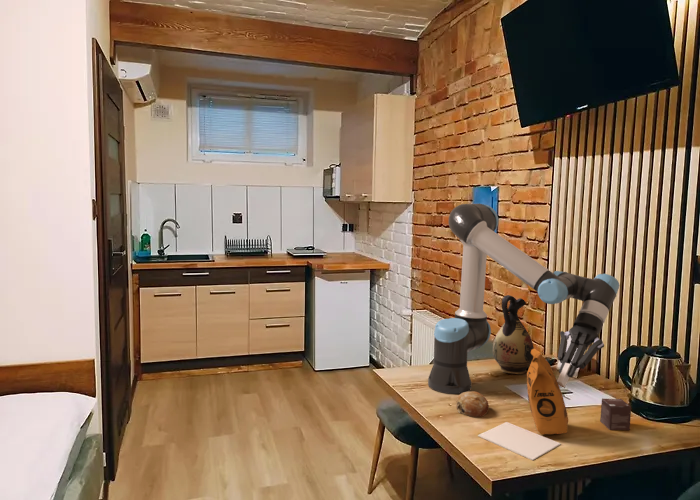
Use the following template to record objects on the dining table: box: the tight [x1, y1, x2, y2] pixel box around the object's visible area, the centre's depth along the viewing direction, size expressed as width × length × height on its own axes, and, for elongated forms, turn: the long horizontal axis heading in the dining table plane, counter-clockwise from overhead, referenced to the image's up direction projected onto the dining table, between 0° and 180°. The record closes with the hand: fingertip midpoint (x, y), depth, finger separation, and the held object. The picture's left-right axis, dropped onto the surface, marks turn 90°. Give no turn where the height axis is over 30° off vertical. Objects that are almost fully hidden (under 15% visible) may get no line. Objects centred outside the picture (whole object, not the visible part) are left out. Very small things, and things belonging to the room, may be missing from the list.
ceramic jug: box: [492, 295, 535, 375], centre depth 198 cm, size 17×15×30 cm
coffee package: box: [526, 347, 569, 436], centre depth 148 cm, size 10×12×22 cm
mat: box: [477, 421, 561, 461], centre depth 142 cm, size 17×14×1 cm
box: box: [599, 398, 632, 431], centre depth 152 cm, size 6×6×7 cm
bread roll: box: [455, 390, 490, 418], centre depth 161 cm, size 10×10×8 cm
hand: (560, 384), depth 147 cm, fingers closed
